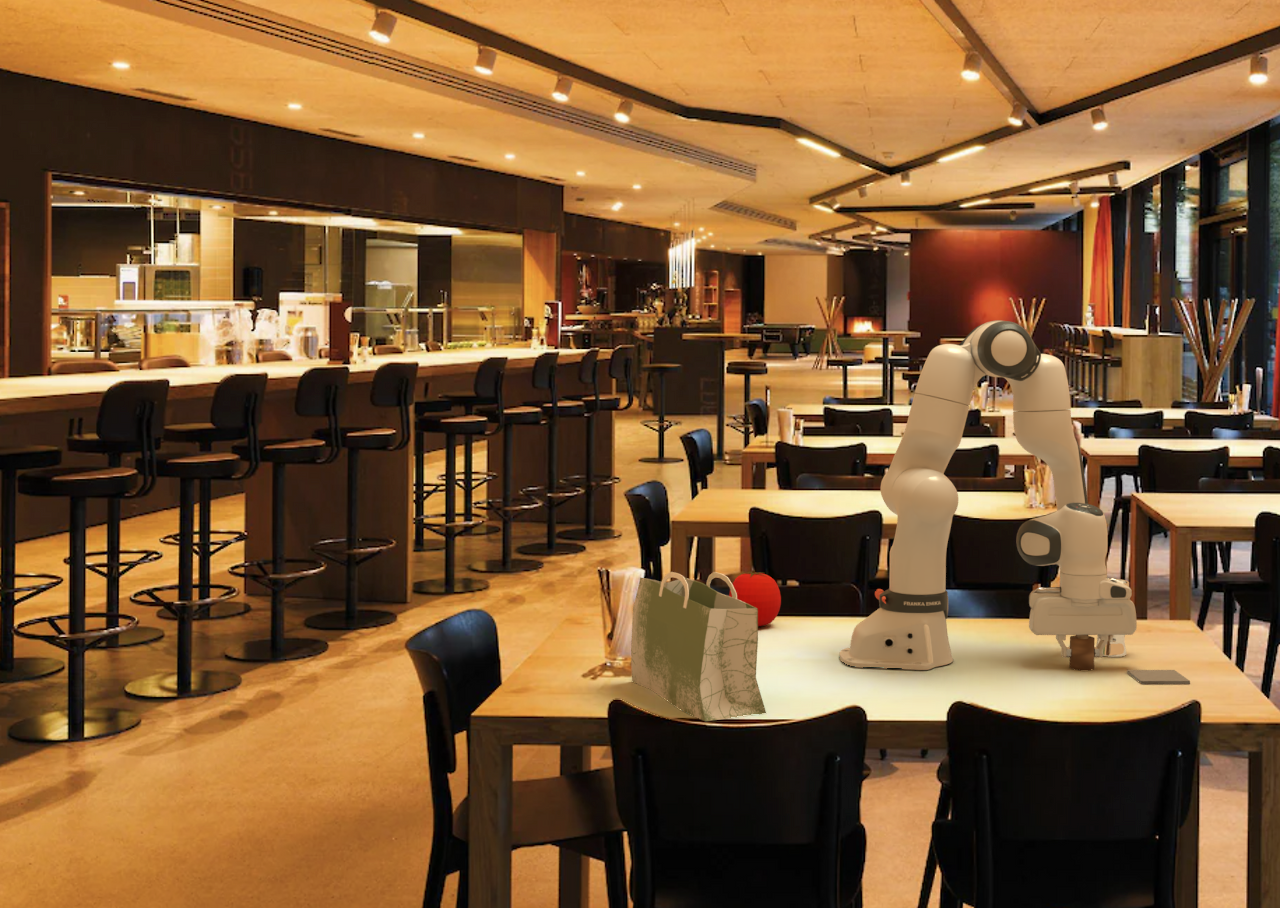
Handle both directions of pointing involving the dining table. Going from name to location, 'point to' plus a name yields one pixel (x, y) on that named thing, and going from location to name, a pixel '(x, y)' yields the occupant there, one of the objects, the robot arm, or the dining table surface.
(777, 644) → the dining table surface
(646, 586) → the grocery bag
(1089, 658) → the pepper mill
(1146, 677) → the coaster
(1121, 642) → the beer glass
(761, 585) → the tomato
